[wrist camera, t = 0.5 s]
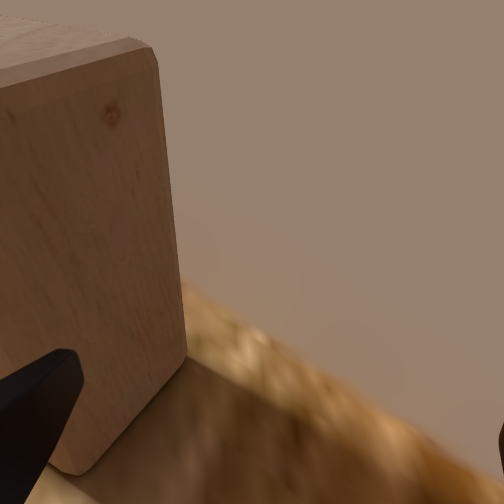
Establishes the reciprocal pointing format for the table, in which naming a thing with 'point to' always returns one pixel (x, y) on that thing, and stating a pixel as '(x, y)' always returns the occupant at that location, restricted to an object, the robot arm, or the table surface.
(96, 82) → the wooden block
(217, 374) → the table surface
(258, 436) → the table surface
